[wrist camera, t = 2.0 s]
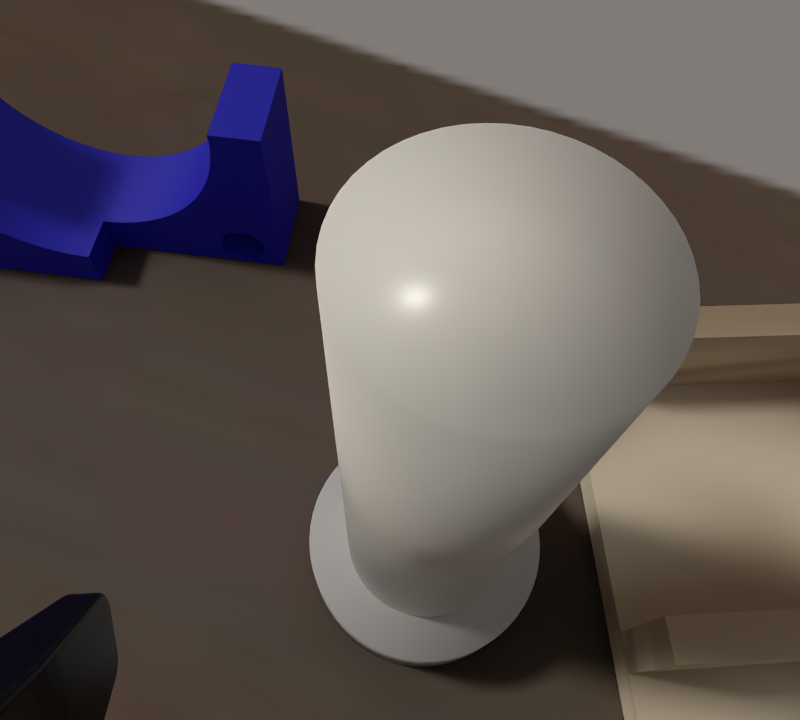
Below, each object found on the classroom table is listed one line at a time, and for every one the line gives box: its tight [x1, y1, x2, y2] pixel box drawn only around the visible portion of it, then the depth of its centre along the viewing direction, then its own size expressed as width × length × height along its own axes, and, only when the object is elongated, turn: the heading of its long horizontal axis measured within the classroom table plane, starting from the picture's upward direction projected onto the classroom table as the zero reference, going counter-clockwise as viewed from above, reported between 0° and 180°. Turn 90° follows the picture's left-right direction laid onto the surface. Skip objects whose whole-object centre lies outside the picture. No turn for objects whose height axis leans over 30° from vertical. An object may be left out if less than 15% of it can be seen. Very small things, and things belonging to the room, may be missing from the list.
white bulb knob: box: [309, 123, 700, 667], centre depth 13 cm, size 6×6×14 cm
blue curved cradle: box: [0, 63, 299, 280], centre depth 22 cm, size 12×4×6 cm, turn 83°
